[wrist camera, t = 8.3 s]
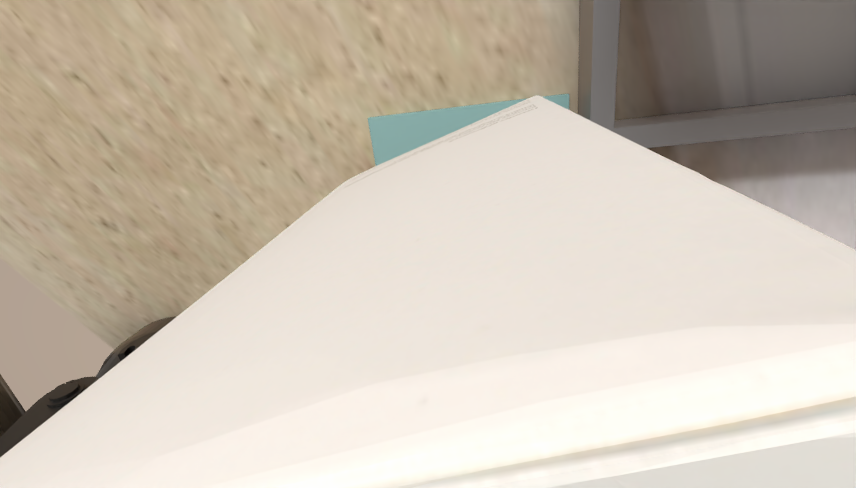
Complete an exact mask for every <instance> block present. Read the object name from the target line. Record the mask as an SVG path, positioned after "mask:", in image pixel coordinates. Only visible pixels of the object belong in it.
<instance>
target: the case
mask: <svg viewBox="0 0 856 488" xmlns="http://www.w3.org/2000/svg"><path fill="white" fill-rule="evenodd" d="M619 18H620V0H580V20H579V82H578V115H580V116H582V117H584V118H586V119H588V120H590V121H592V122H594V123H596V124H598V125H600V126H602V127H604V128H606V129H608V130H610V131H612V132H614V133H616V134H618V135H620V136H622V137H624V138H626V139H628V140H630V141H632V142H635V143H637V144H639V145H641V146H643V147H645V148H652V147H663V146H673V145H683V144H694V143H704V142H715V141H725V140H735V139H746V138H756V137H766V136H777V135H787V134H798V133H808V132H818V131H829V130H839V129H849V128H856V94H855V95H845V96H836V97H827V98H818V99H808V100H799V101H790V102H781V103H771V104H762V105H753V106H744V107H734V108H725V109H716V110H706V111H697V112H688V113H679V114H669V115H660V116H651V117H642V118H632V119H623V120H615V100H616V79H617V59H618V38H619Z"/></svg>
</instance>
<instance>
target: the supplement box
mask: <svg viewBox="0 0 856 488" xmlns="http://www.w3.org/2000/svg"><path fill="white" fill-rule="evenodd" d="M0 488H856V250H855V249H853V248H851V247H849V246H847V245H845V244H843V243H841V242H839V241H837V240H835V239H833V238H831V237H829V236H827V235H825V234H823V233H821V232H819V231H817V230H815V229H813V228H811V227H809V226H807V225H805V224H803V223H801V222H799V221H797V220H795V219H793V218H791V217H789V216H787V215H784V214H782V213H780V212H778V211H776V210H774V209H772V208H770V207H768V206H766V205H764V204H761V203H759V202H757V201H755V200H753V199H751V198H749V197H747V196H745V195H743V194H741V193H738V192H736V191H734V190H732V189H730V188H728V187H726V186H723V185H721V184H719V183H716V182H714V181H712V180H710V179H708V178H707V177H705V176H703V175H701V174H700V173H698V172H696V171H693V170H691V169H689V168H687V167H684V166H682V165H680V164H678V163H676V162H673V161H671V160H669V159H667V158H665V157H663V156H661V155H659V154H657V153H655V152H653V151H651V150H649V149H647V148H645V147H643V146H641V145H639V144H637V143H635V142H632V141H630V140H628V139H626V138H624V137H622V136H620V135H618V134H616V133H614V132H612V131H610V130H608V129H606V128H604V127H602V126H600V125H598V124H596V123H594V122H592V121H590V120H588V119H586V118H584V117H582V116H580V115H578V114H576V113H574V112H572V111H570V110H568V109H566V108H564V107H562V106H560V105H558V104H556V103H554V102H552V101H549V100H547V99H545V98H543V97H541V96H533V97H531V98H528V99H526V100H524V101H521V102H519V103H517V104H515V105H512V106H510V107H508V108H506V109H503V110H501V111H499V112H497V113H494V114H492V115H490V116H488V117H486V118H483V119H481V120H479V121H477V122H474V123H472V124H470V125H468V126H465V127H463V128H461V129H459V130H456V131H454V132H452V133H450V134H447V135H445V136H443V137H441V138H438V139H436V140H434V141H431V142H429V143H427V144H425V145H422V146H420V147H418V148H416V149H413V150H411V151H409V152H407V153H404V154H402V155H400V156H397V157H395V158H393V159H391V160H388V161H386V162H384V163H382V164H379V165H377V166H375V167H373V168H371V169H369V170H367V171H365V172H363V173H361V174H358V175H356V176H354V177H352V178H350V179H349V180H347V181H345V182H344V183H343V184H341V185H340V186H338V187H337V188H336V189H335V190H333V191H332V192H331V193H330V194H329V195H327V196H326V197H325V198H323V199H322V200H321V201H320V202H318V203H317V204H316V205H315V206H313V207H312V208H311V209H310V210H308V211H307V212H306V213H305V214H303V215H302V216H301V217H300V218H299V219H297V220H296V221H295V222H294V223H292V224H291V225H290V226H289V227H288V228H286V229H285V230H284V231H283V232H281V233H280V234H279V235H278V236H277V237H275V238H274V239H273V240H272V241H270V242H269V243H268V244H267V245H265V246H264V247H263V248H262V249H261V250H259V251H258V252H257V253H256V254H254V255H253V256H252V257H251V258H249V259H248V260H247V261H246V262H244V263H243V264H242V265H241V266H239V267H238V268H237V269H236V270H235V271H233V272H232V273H231V274H230V275H228V276H227V277H226V278H225V279H223V280H222V281H221V282H220V283H218V284H217V285H216V286H215V287H213V288H212V289H211V290H210V291H208V292H207V293H206V294H205V295H203V296H202V297H201V298H200V299H198V300H197V301H196V302H195V303H193V304H192V305H191V306H190V307H188V308H187V309H186V310H185V311H183V312H182V313H181V314H180V315H178V316H177V317H176V318H175V319H173V320H172V321H171V322H170V323H168V324H167V325H166V326H165V327H163V328H162V329H161V330H159V331H158V332H157V333H156V334H154V335H153V336H152V337H151V338H149V339H148V340H147V341H146V342H145V343H143V344H142V345H141V346H140V347H138V348H137V349H136V350H135V351H133V352H132V353H131V354H130V355H128V356H127V357H126V358H125V359H123V360H122V361H121V362H120V363H118V364H117V365H116V366H115V367H113V368H112V369H111V370H110V371H108V372H107V373H106V374H105V375H103V376H102V377H101V378H99V379H98V380H97V381H96V382H94V383H93V384H92V385H91V386H89V387H88V388H87V389H86V390H84V391H83V392H82V393H81V394H79V395H78V396H77V397H76V398H74V399H73V400H72V401H71V402H69V403H68V404H67V405H66V406H64V407H63V408H62V409H61V410H59V411H58V412H57V413H56V414H54V415H53V416H52V417H51V418H49V419H48V420H47V421H46V422H44V423H43V424H42V425H40V426H39V427H38V428H37V429H35V430H34V431H33V432H32V433H30V434H29V435H28V436H27V437H25V438H24V439H23V440H22V441H20V442H19V443H18V444H17V445H15V446H14V447H13V448H12V449H10V450H9V451H8V452H7V453H5V454H4V455H3V456H2V457H0Z"/></svg>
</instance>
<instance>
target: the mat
mask: <svg viewBox="0 0 856 488" xmlns="http://www.w3.org/2000/svg"><path fill="white" fill-rule="evenodd" d="M543 98H545V99H547V100H549V101H552V102H554V103H556V104H558V105H560V106H562V107H564V108H566V109H568V110H569V94H561V95H553V96H545V97H543ZM524 100H526V99H520V100H511V101H503V102H495V103H486V104H478V105H470V106H461V107H453V108H445V109H436V110H428V111H420V112H412V113H403V114H395V115H387V116H378V117H370V118H368V123H369V129H370V134H371V140H372V146H373V152H374V158H375V164H376V166H377V165H379V164H382V163H384V162H386V161H388V160H391V159H393V158H395V157H397V156H400V155H402V154H404V153H407V152H409V151H411V150H413V149H416V148H418V147H420V146H422V145H425V144H427V143H429V142H431V141H434V140H436V139H438V138H441V137H443V136H445V135H447V134H450V133H452V132H454V131H456V130H459V129H461V128H463V127H465V126H468V125H470V124H472V123H474V122H477V121H479V120H481V119H483V118H486V117H488V116H490V115H492V114H494V113H497V112H499V111H501V110H503V109H506V108H508V107H510V106H512V105H515V104H517V103H519V102H521V101H524Z"/></svg>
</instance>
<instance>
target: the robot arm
mask: <svg viewBox="0 0 856 488" xmlns="http://www.w3.org/2000/svg"><path fill="white" fill-rule="evenodd" d="M175 318H176V317H170V318H165V319H161V320H158V321H155V322H153V323H151V324H149V325H147V326H145V327H144V328H142V329H141V330H139V331H138V332H137V333H135V334H134V335H133V336H131V337H130V338H129V339H127V340H126V341H125V342H123V343H122V344H121V345H119V346H118V347H117V348H116V349H115V350H114V351H113V352H112V353H111V354H110V355H109V356H108V357H107V359H106V360H105V362H104V363H103V365H102V367H101V369H100V371H99V373H98V374H97V376H96V377H84V378H81V379H77V380H72V381H69V382H66V384H62V385H60V386H58V387H56V388H55V389H54V390H52V391H51V392H49V393H47V394H46V395H44V396H43V397H42V398H41V399H39V400H38V401H37V402H36V403H35V404H34V405H33V406H32V407H31V408H30V409H29V410H27V411H26V412H25V410H24V409H23V407H22V406H21V404H20V403H19V401H18V400H17V398H16V397H15V395H14V394H13V392H12V391H11V389H10V388H9V386H8V385H7V383H6V382H5V381H4V379H3V378H2V376H1V375H0V457H2V456H3V455H4V454H5V453H7V452H8V451H9V450H10V449H12V448H13V447H14V446H15V445H17V444H18V443H19V442H20V441H22V440H23V439H24V438H25V437H27V436H28V435H29V434H30V433H32V432H33V431H34V430H35V429H37V428H38V427H39V426H40V425H42V424H43V423H44V422H46V421H47V420H48V419H49V418H51V417H52V416H53V415H54V414H56V413H57V412H58V411H59V410H61V409H62V408H63V407H64V406H66V405H67V404H68V403H69V402H71V401H72V400H73V399H74V398H76V397H77V396H78V395H79V394H81V393H82V392H83V391H84V390H86V389H87V388H88V387H89V386H91V385H92V384H93V383H94V382H96V381H97V380H98V379H99V378H101V377H102V376H103V375H105V374H106V373H107V372H108V371H110V370H111V369H112V368H113V367H115V366H116V365H117V364H118V363H120V362H121V361H122V360H123V359H125V358H126V357H127V356H128V355H130V354H131V353H132V352H133V351H135V350H136V349H137V348H138V347H140V346H141V345H142V344H143V343H145V342H146V341H147V340H148V339H149V338H151V337H152V336H153V335H154V334H156V333H157V332H158V331H159V330H161V329H162V328H163V327H165V326H166V325H167V324H168V323H170V322H171V321H172V320H173V319H175Z"/></svg>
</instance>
